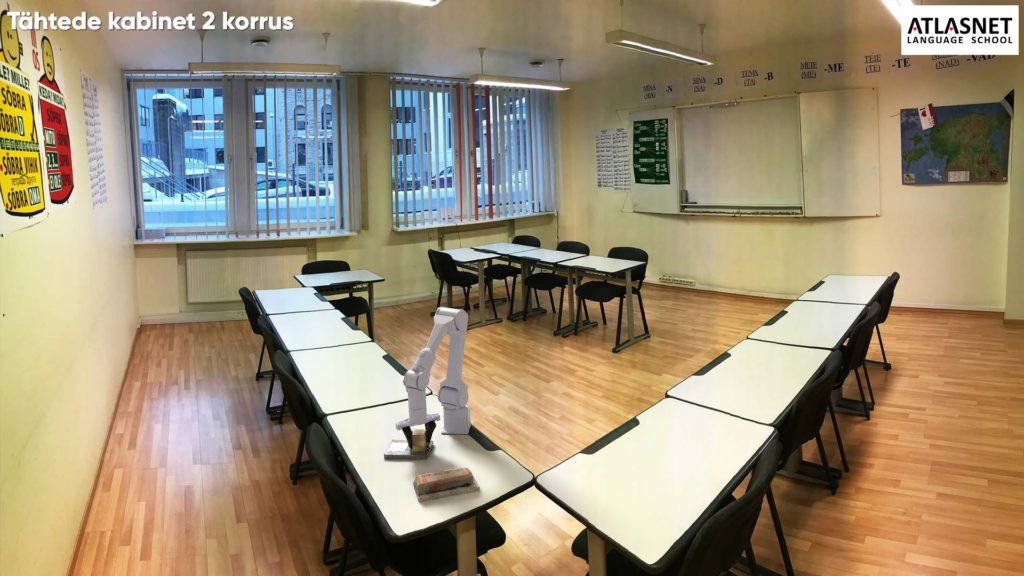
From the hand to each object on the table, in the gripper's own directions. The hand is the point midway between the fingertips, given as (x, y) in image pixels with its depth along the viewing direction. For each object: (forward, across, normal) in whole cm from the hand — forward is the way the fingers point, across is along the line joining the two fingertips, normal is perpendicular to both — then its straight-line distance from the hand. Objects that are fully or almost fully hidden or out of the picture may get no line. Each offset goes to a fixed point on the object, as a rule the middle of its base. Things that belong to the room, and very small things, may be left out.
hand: (419, 445), depth 194 cm
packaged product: (+3, +1, +24) cm, 25 cm away
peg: (+2, 0, 0) cm, 2 cm away
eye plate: (+2, +3, -2) cm, 4 cm away
